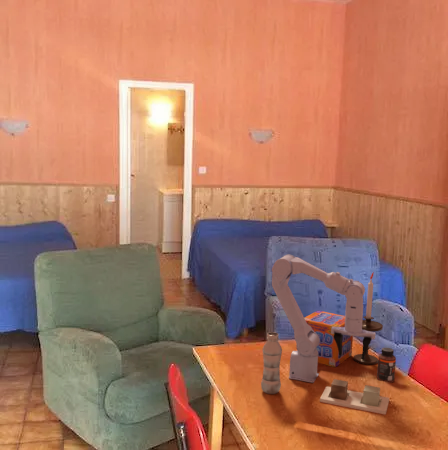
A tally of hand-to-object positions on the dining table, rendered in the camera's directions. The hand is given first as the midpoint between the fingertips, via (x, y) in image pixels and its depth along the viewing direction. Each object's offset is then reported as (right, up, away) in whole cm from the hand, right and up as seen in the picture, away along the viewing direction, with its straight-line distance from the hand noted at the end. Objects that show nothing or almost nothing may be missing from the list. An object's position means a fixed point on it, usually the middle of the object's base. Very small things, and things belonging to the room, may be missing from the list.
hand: (351, 356), depth 189 cm
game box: (-4, -7, +27) cm, 29 cm away
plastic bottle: (-28, -11, -6) cm, 31 cm away
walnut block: (-7, -10, -12) cm, 17 cm away
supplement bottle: (+13, -10, +7) cm, 18 cm away
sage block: (+2, -11, -16) cm, 20 cm away
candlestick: (+11, -8, +25) cm, 28 cm away
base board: (-2, -12, -14) cm, 19 cm away
